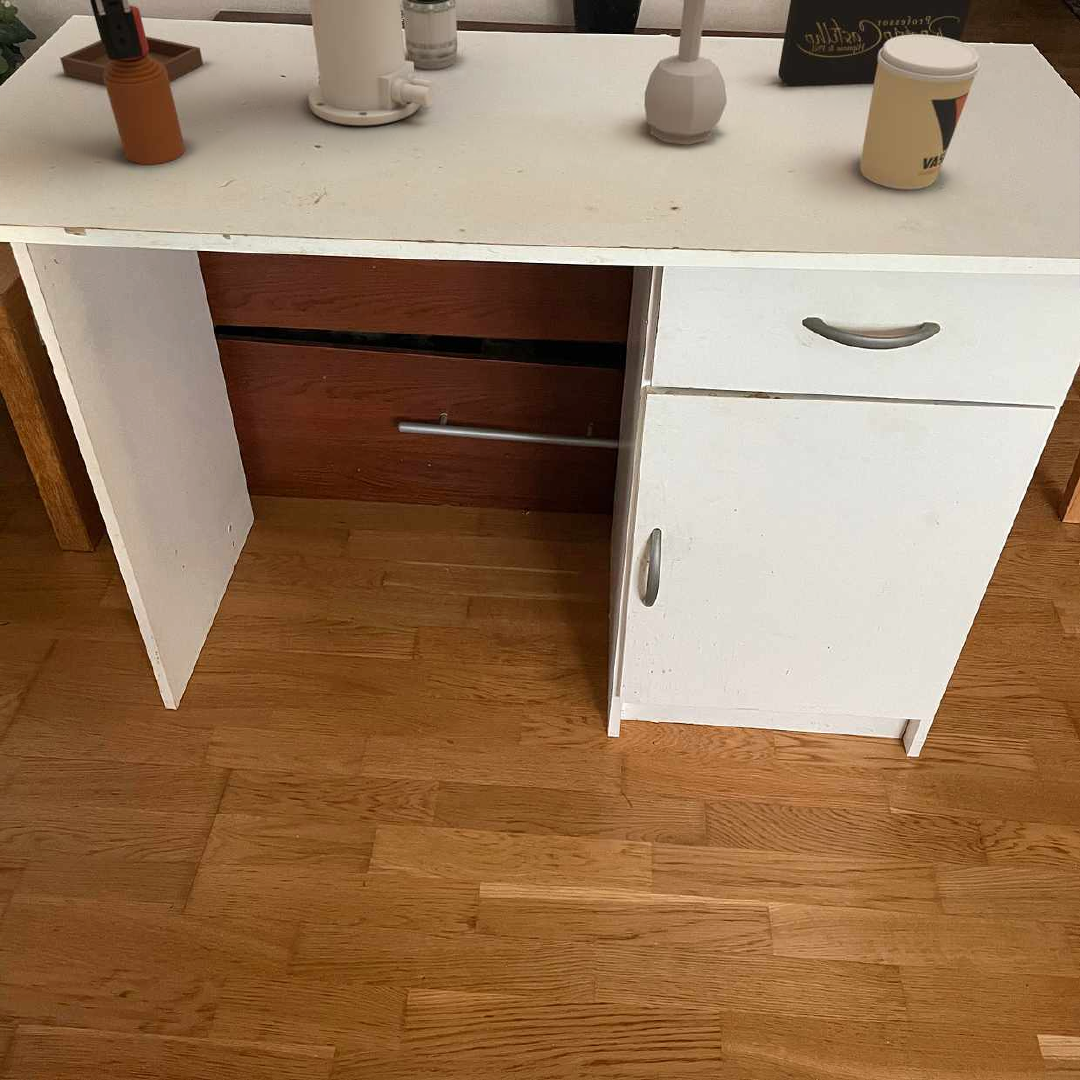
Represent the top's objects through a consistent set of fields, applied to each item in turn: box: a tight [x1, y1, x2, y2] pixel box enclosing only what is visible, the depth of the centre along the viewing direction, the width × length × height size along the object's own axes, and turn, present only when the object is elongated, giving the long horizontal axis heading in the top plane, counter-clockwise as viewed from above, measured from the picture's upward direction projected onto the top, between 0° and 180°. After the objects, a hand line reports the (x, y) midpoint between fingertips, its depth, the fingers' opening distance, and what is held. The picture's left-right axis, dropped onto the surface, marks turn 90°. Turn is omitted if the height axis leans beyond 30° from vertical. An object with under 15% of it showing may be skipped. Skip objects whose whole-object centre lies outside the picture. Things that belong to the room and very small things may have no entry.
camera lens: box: [401, 0, 458, 70], centre depth 122 cm, size 6×6×8 cm
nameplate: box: [777, 0, 973, 88], centre depth 118 cm, size 21×2×10 cm, turn 98°
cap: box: [126, 5, 149, 59], centre depth 97 cm, size 4×4×4 cm
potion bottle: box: [644, 0, 728, 145], centre depth 104 cm, size 9×9×18 cm
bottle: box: [103, 54, 186, 165], centre depth 101 cm, size 6×6×13 cm
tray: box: [60, 36, 204, 85], centre depth 120 cm, size 12×10×2 cm
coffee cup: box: [859, 35, 981, 191], centre depth 100 cm, size 9×9×12 cm
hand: (122, 47), depth 98 cm, fingers closed on cap, 3 cm apart
